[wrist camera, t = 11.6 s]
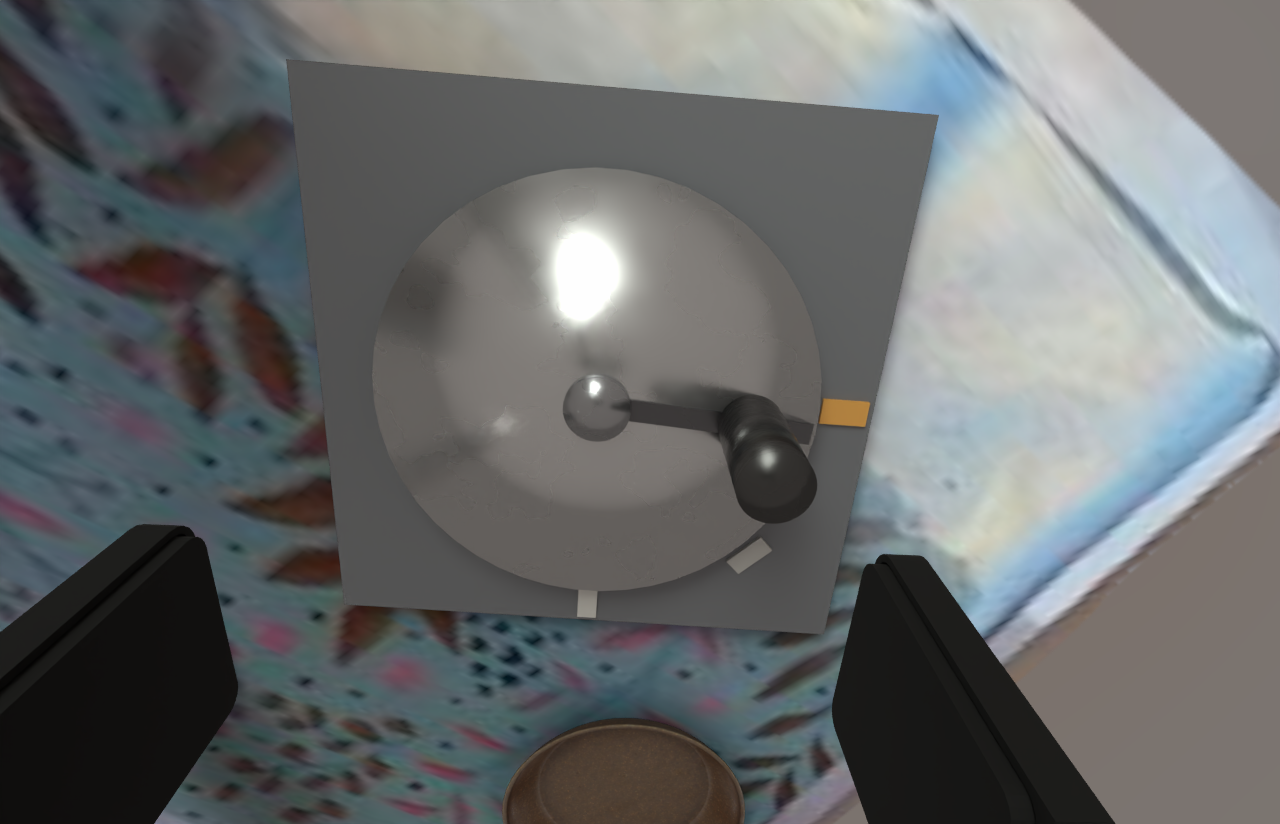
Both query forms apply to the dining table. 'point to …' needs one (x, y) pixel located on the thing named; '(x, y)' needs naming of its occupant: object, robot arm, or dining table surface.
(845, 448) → the dial plate
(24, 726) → the robot arm
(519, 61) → the dining table surface
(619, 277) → the dial
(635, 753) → the saucer
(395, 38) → the dining table surface
